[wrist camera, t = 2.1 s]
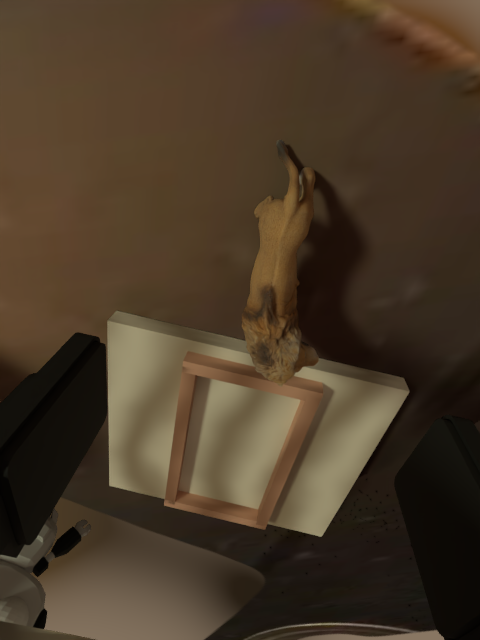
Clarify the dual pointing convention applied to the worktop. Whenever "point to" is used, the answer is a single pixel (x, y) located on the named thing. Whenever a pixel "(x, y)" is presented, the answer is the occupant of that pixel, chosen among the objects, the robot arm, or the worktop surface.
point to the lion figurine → (279, 280)
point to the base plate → (238, 426)
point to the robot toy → (24, 589)
